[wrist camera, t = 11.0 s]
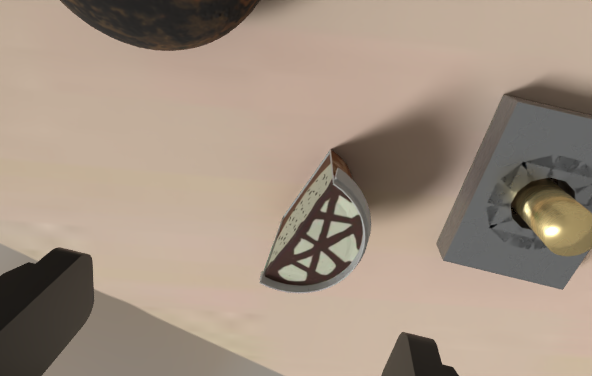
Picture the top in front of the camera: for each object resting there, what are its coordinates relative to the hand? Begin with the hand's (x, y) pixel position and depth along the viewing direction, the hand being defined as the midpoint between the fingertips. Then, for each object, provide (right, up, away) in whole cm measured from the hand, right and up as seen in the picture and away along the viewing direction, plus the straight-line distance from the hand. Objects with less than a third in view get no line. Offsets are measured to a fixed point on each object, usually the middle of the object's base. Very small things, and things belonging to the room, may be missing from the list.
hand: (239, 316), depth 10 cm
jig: (+24, +3, +27) cm, 36 cm away
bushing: (+24, +3, +27) cm, 36 cm away
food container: (+5, +2, +30) cm, 30 cm away
